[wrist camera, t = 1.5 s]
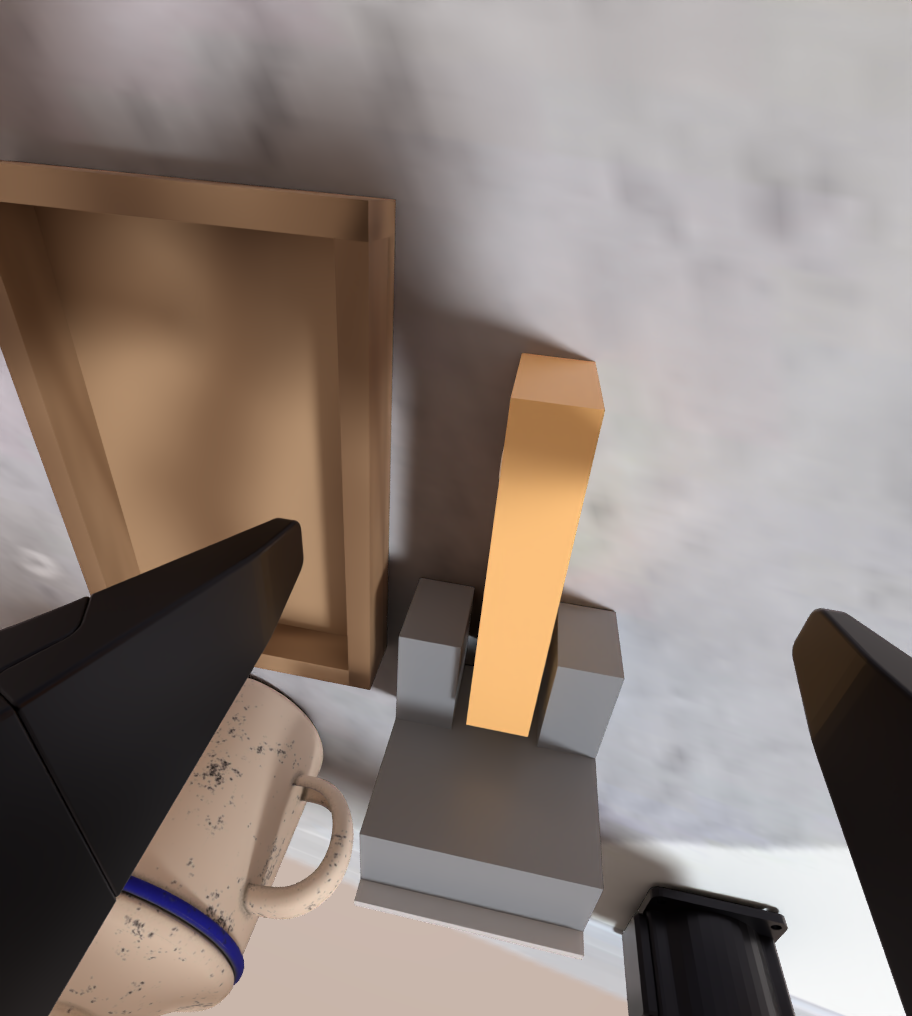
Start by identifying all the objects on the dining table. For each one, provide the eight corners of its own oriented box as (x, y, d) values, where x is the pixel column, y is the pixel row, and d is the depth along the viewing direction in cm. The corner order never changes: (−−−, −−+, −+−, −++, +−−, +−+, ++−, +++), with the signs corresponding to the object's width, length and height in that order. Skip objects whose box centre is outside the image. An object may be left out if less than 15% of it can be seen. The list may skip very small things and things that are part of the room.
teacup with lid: (196, 778, 29) (9, 1078, 19) (123, 658, 25) (-168, 967, 15) (404, 796, 27) (311, 1152, 17) (364, 666, 22) (206, 1046, 12)
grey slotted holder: (615, 612, 18) (645, 835, 12) (575, 737, 22) (581, 960, 16) (420, 577, 19) (349, 771, 13) (412, 704, 23) (354, 905, 16)
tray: (395, 199, 13) (368, 200, 11) (386, 646, 21) (369, 689, 19) (13, 160, 14) (-70, 155, 12) (143, 600, 22) (106, 637, 20)
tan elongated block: (596, 360, 15) (607, 410, 11) (534, 646, 20) (529, 737, 17) (520, 351, 15) (508, 397, 11) (480, 636, 20) (464, 724, 17)
